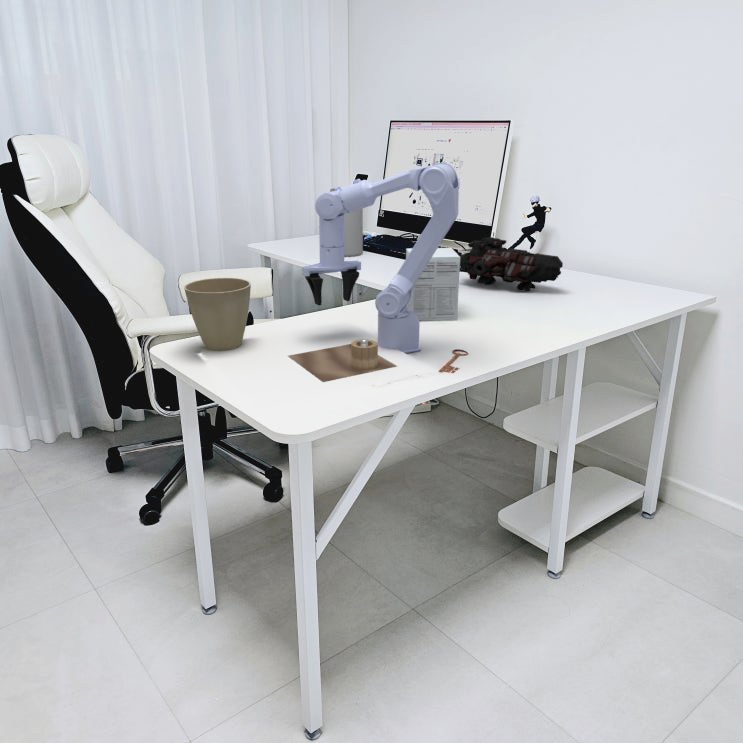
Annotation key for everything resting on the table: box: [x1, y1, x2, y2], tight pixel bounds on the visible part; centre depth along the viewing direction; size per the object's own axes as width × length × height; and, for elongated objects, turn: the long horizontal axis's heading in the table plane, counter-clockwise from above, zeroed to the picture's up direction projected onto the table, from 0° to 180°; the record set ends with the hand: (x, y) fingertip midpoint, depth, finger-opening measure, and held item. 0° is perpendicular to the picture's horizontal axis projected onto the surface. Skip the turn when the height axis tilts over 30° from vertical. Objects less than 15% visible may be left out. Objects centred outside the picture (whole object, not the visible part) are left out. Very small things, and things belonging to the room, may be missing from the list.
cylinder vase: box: [329, 187, 364, 258], centre depth 258 cm, size 12×12×25 cm
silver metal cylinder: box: [360, 338, 368, 346], centre depth 142 cm, size 2×2×6 cm
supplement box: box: [405, 247, 461, 322], centre depth 181 cm, size 13×13×18 cm
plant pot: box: [183, 277, 252, 352], centre depth 153 cm, size 15×15×16 cm
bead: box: [350, 339, 379, 370], centre depth 142 cm, size 6×6×5 cm
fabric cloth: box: [287, 343, 398, 383], centre depth 146 cm, size 18×18×2 cm
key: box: [438, 348, 469, 374], centre depth 149 cm, size 6×1×15 cm
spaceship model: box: [460, 236, 564, 292], centre depth 210 cm, size 19×32×15 cm, turn 53°
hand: (332, 302), depth 157 cm, fingers open, 7 cm apart
